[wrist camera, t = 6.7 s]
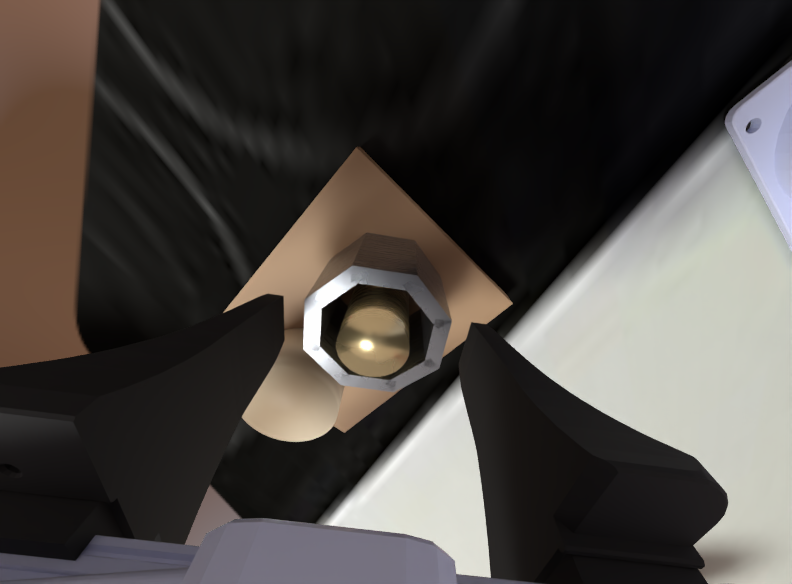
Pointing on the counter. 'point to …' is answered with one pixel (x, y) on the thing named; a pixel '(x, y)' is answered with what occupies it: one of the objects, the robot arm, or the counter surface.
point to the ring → (384, 267)
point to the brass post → (375, 331)
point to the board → (301, 267)
